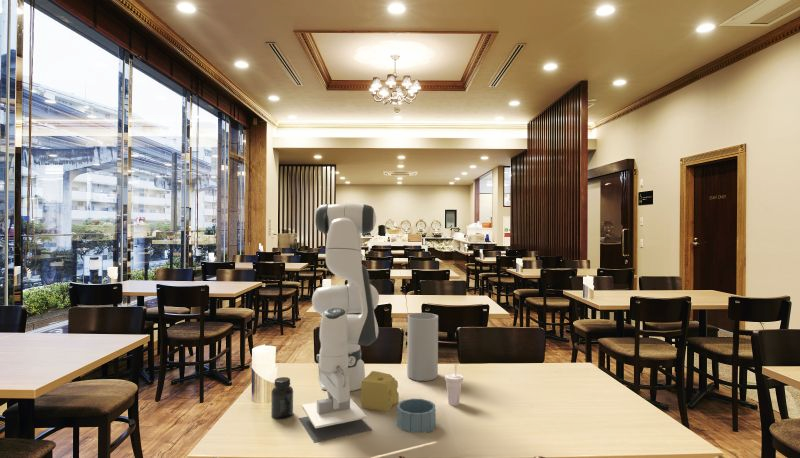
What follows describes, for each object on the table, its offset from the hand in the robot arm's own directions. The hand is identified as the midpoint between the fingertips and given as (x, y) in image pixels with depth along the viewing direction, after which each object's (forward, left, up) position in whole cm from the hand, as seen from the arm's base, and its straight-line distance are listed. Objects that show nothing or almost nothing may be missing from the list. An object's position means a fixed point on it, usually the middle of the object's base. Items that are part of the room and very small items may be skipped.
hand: (333, 405), depth 141 cm
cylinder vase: (-26, +47, -6) cm, 54 cm away
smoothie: (+3, +43, -6) cm, 44 cm away
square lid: (0, 0, -2) cm, 2 cm away
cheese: (-7, +19, -6) cm, 21 cm away
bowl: (+12, +23, -6) cm, 27 cm away
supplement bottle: (-13, -13, -6) cm, 20 cm away
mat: (+1, 0, -6) cm, 6 cm away
